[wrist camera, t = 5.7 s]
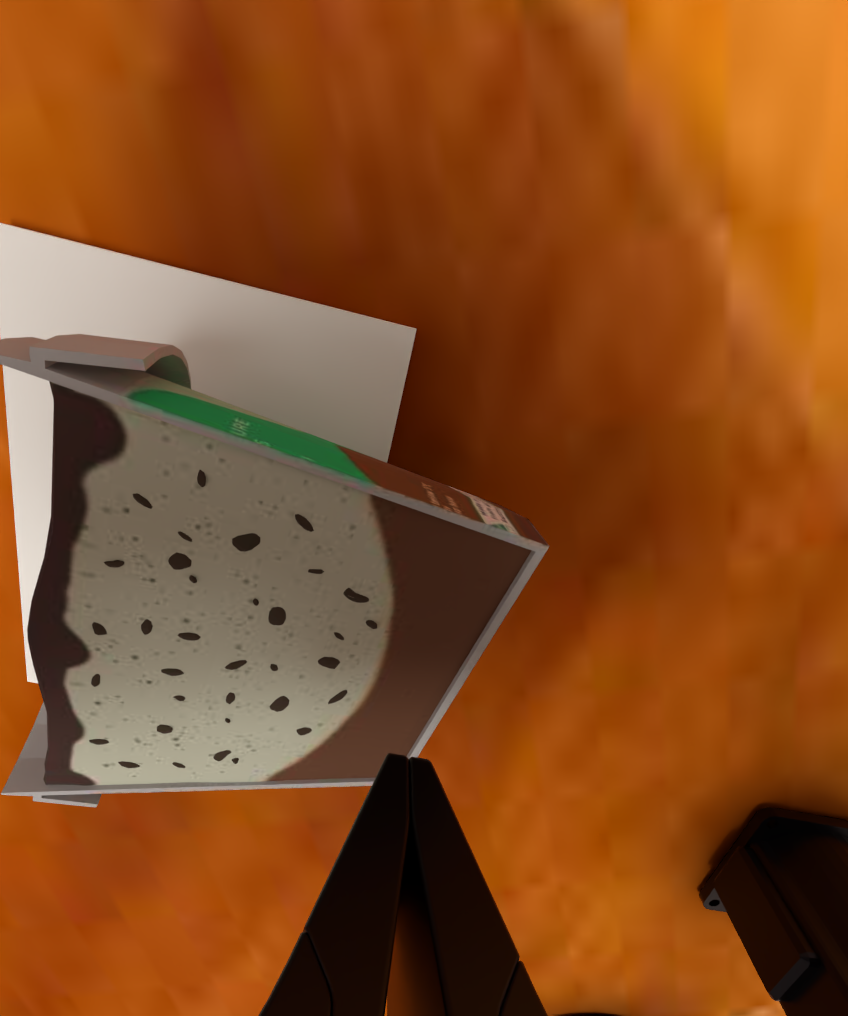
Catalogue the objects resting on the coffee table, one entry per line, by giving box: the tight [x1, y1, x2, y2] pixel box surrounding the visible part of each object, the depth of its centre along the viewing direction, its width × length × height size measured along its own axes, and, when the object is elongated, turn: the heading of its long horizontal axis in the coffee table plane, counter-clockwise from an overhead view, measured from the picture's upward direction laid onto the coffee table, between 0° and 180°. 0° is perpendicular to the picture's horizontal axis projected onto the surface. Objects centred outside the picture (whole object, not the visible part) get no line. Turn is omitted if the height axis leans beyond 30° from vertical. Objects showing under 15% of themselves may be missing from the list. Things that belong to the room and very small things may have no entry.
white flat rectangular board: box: [0, 223, 417, 683], centre depth 16 cm, size 11×15×1 cm
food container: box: [0, 334, 549, 807], centre depth 13 cm, size 12×6×10 cm
